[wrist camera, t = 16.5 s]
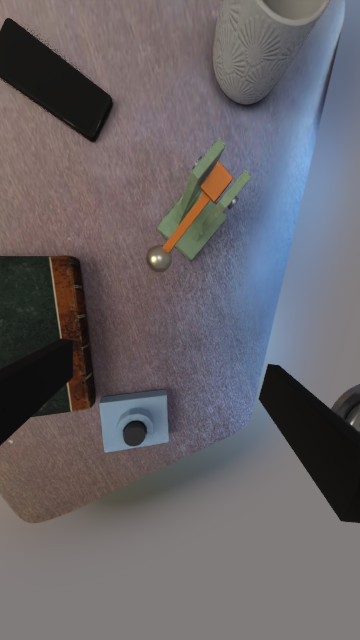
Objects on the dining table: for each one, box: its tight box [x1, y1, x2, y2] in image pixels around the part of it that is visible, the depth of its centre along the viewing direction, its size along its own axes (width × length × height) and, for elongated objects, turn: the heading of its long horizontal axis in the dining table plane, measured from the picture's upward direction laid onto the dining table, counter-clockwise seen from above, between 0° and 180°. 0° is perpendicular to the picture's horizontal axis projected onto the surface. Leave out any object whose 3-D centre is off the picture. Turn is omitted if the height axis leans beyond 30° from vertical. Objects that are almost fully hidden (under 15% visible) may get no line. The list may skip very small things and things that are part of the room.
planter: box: [213, 0, 330, 104], centre depth 25 cm, size 12×12×11 cm
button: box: [123, 420, 145, 446], centre depth 31 cm, size 4×4×2 cm
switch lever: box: [146, 162, 233, 272], centre depth 23 cm, size 14×4×4 cm, turn 140°
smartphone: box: [0, 18, 113, 141], centre depth 26 cm, size 7×1×15 cm
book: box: [0, 256, 95, 417], centre depth 29 cm, size 17×4×25 cm
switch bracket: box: [157, 139, 251, 261], centre depth 25 cm, size 10×8×14 cm
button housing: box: [99, 389, 169, 453], centre depth 34 cm, size 12×10×4 cm
